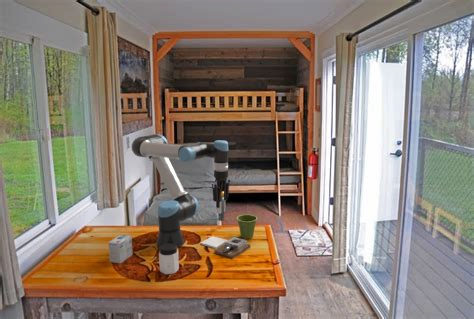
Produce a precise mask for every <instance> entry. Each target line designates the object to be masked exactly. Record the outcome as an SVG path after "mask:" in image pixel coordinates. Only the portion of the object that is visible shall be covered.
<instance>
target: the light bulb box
mask: <svg viewBox="0 0 474 319" xmlns="http://www.w3.org/2000/svg"><path fill="white" fill-rule="evenodd" d="M107 244H108V251H109V254H108V255H109V262H110V263H116V264H122V263H123V262H125V261H126V260H127V259H130V258H131V257H132V256H133V240H132V235H127V234H120V235H118V236H116V237H115V238H113V239H111V240H110V241H108V243H107Z"/></svg>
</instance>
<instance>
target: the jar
mask: <svg viewBox="0 0 474 319" xmlns="http://www.w3.org/2000/svg"><path fill="white" fill-rule="evenodd" d="M158 261H159V262H158V263H159V272H160V273H162V274H164V275H171V274H175V273H177V271H179V269H180V264H179V261H180V260H179V250H178V248H177V245H176V244H173V243H167V244H163V245H161V246H160V248H159V252H158Z"/></svg>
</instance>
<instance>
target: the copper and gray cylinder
mask: <svg viewBox="0 0 474 319" xmlns="http://www.w3.org/2000/svg"><path fill="white" fill-rule="evenodd" d="M220 202H221V214H219V213H217V216H218V217H217V221H220V222H223V221H224V220H225V218H224V217H225V212H224V191H221V199H220Z"/></svg>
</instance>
